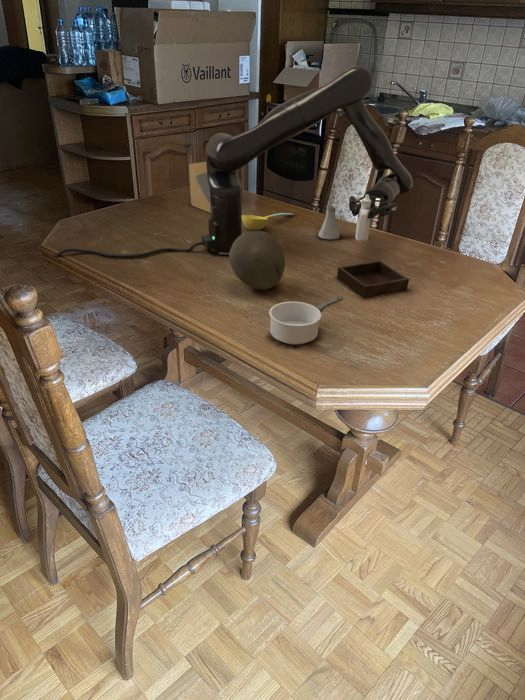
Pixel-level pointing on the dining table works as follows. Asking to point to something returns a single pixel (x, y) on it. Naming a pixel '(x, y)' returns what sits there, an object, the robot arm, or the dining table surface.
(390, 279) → the tray
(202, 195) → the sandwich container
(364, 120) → the robot arm
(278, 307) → the saucepan
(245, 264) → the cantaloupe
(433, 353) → the dining table surface
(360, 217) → the eye dropper bottle
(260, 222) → the ladle
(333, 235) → the flask
